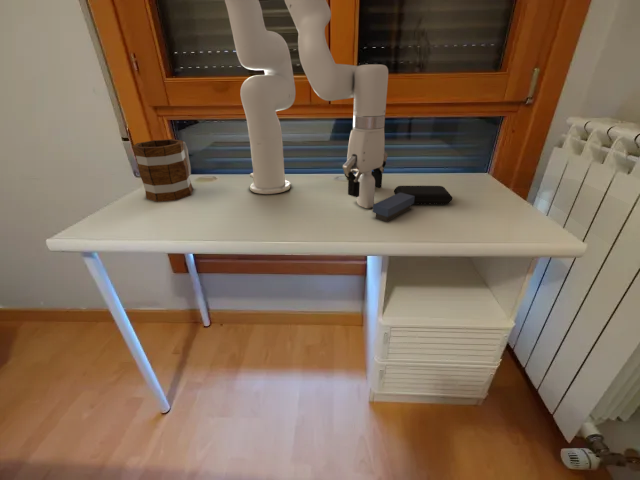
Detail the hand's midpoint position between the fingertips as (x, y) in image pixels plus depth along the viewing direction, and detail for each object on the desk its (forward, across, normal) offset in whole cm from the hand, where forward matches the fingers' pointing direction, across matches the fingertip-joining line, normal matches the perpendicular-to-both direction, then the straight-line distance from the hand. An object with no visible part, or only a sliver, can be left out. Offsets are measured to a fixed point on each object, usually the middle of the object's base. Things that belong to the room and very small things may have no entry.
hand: (365, 191), depth 84 cm
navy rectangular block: (+4, 0, +9) cm, 10 cm away
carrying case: (+4, -14, +9) cm, 17 cm away
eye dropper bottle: (+4, 0, 0) cm, 4 cm away
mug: (+4, +29, -51) cm, 59 cm away
